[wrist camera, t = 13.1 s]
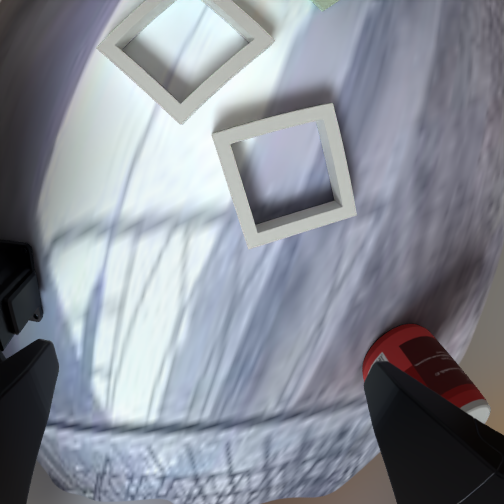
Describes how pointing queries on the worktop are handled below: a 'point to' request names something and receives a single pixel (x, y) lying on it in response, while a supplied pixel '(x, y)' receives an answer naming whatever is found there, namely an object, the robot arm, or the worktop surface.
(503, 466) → the robot arm
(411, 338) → the canned food
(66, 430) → the worktop surface
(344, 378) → the worktop surface
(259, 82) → the worktop surface
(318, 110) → the frame
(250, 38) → the frame
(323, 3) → the pad
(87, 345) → the worktop surface
